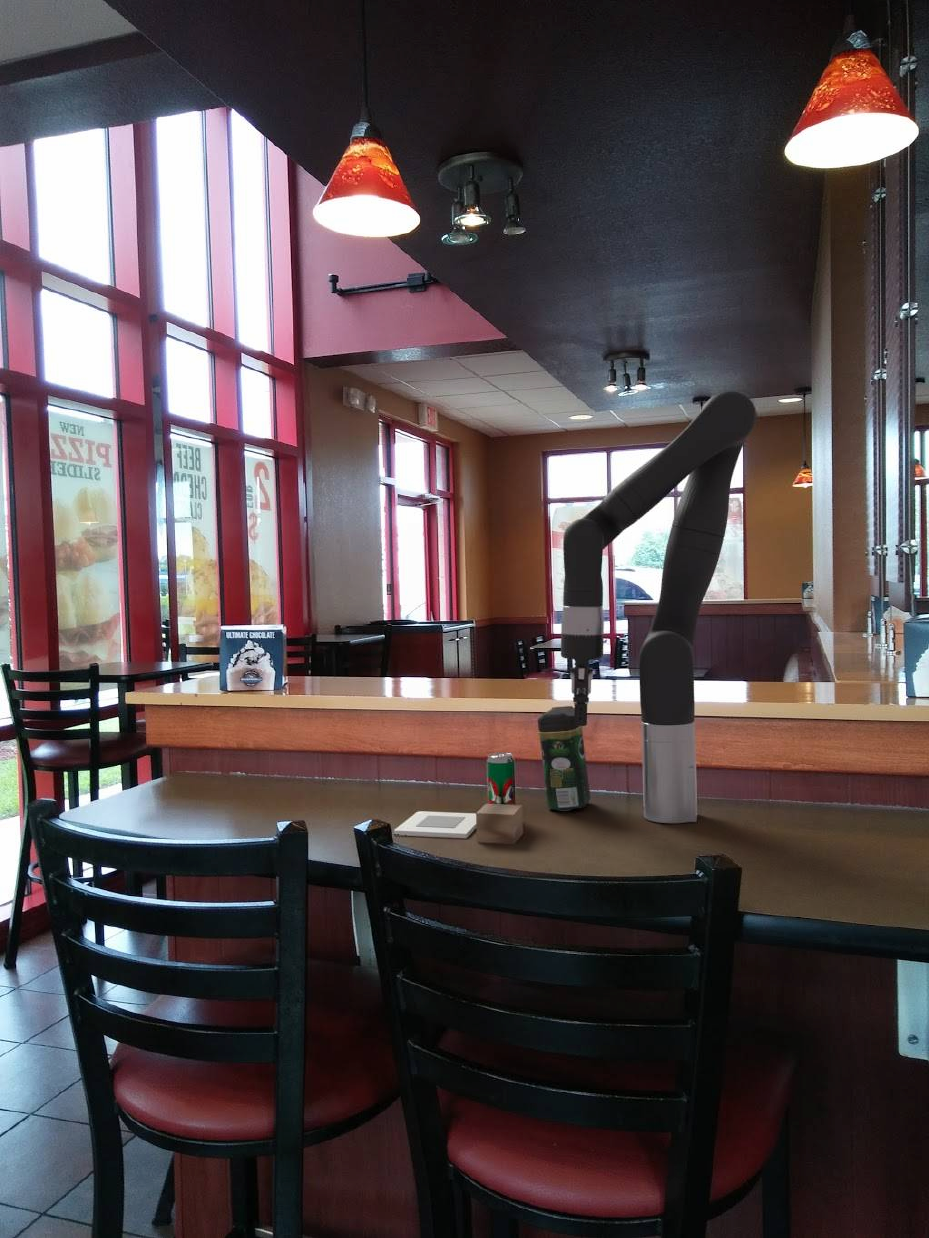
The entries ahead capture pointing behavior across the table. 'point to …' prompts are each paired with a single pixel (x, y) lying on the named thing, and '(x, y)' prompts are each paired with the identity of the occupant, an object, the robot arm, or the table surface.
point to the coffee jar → (563, 760)
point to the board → (438, 825)
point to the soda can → (501, 779)
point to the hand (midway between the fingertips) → (580, 721)
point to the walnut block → (499, 823)
